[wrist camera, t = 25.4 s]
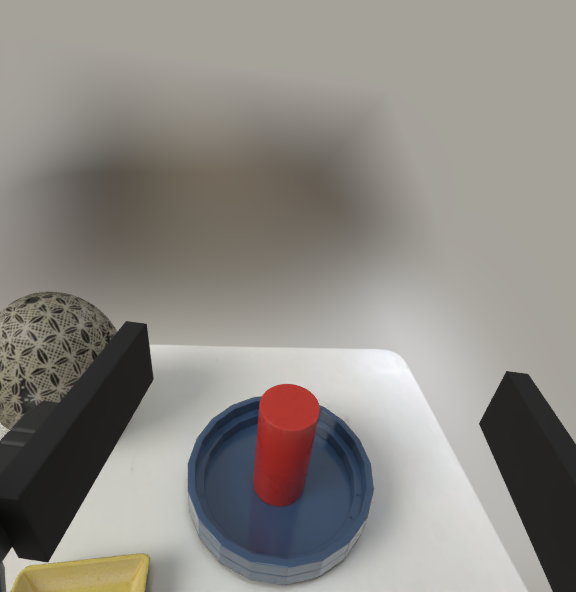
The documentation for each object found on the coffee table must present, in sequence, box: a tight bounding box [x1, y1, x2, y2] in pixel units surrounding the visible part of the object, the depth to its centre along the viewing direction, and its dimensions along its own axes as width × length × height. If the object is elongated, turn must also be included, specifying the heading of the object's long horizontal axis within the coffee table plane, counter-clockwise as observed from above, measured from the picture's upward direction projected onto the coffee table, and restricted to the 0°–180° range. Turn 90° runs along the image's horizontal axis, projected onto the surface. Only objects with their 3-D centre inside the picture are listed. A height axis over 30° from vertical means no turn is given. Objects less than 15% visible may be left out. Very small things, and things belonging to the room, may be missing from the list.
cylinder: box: [253, 384, 320, 507], centre depth 32 cm, size 5×5×10 cm
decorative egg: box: [0, 292, 117, 431], centre depth 35 cm, size 12×12×15 cm
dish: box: [188, 396, 374, 585], centre depth 34 cm, size 16×16×4 cm
